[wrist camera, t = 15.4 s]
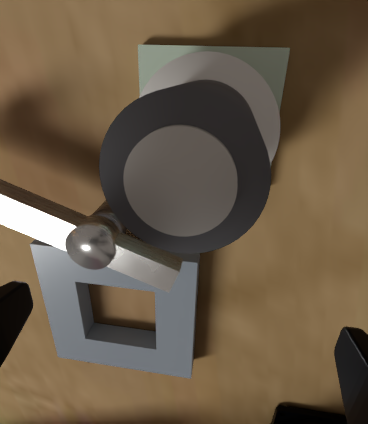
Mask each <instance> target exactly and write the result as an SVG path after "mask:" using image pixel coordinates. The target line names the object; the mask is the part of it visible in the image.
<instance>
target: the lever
mask: <svg viewBox="0 0 368 424" xmlns="http://www.w3.org/2000/svg"><path fill="white" fill-rule="evenodd" d="M0 224H3V225H5V226H7V227H10V228H12V229H14V230H17V231H19V232H22V233H24V234H26V235H29V236H31V237H33V238H36V239H38V240H41V241H43V242H45V243H48V244H50V245H53V246H55V247H57V248H60V249H62V250H64V251H67V253H68V255H69V256H70V258H71V259H72V260H73V261H74V262H75V263H77V264H78V265H80V266H82V267H84V268H86V269H91V270H99V269H102V268H105V267H109V268H111V269H113V270H116V271H118V272H120V273H123V274H125V275H128V276H130V277H132V278H135V279H137V280H139V281H142V282H144V283H147V284H149V285H151V286H154V287H156V288H159V289H161V290H163V291H166V292H168V293H169V292H170V290H171V288H172V286H173V284H174V282H175V280H176V278H177V276H178V274H179V273H180V269H181V265H182V261H183V258H180V257H178V256H176V255H173V254H171V253H169V252H166V251H164V250H162V249H159V248H157V247H155V246H152V245H150V244H148V243H145V242H143V241H141V240H138V239H136V238H134V237H131V236H129V235H127V234H125V232H126V231H127V228H126V227H125V226H124V225H123V224H122V223H121V222H120V221H119V219H118V218H117V217H116V216H115V214H114V213H113V211H112V209H111V208H110V206H109V204H108V202H107V200H106V201H105V202H104V203H103V204H102V205H101V206H100V207H99V208H98V209H97V210H96V211H95V212H94V213H93V214H92V215H91V216H86V215H83V214H81V213H79V212H76V211H74V210H72V209H69V208H67V207H65V206H62V205H60V204H58V203H55V202H53V201H51V200H48V199H46V198H44V197H41V196H39V195H37V194H34V193H32V192H30V191H27V190H25V189H22V188H20V187H18V186H15V185H13V184H11V183H8V182H6V181H4V180H1V179H0Z"/></svg>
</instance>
